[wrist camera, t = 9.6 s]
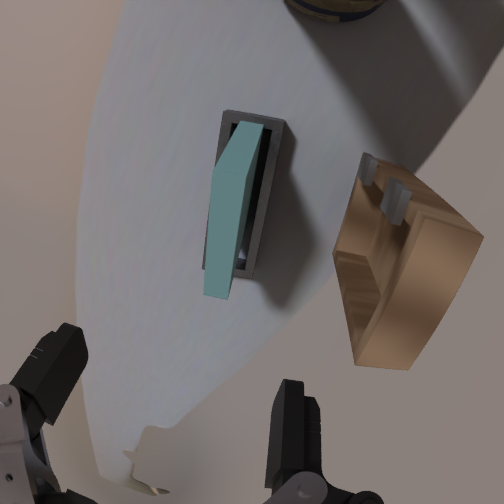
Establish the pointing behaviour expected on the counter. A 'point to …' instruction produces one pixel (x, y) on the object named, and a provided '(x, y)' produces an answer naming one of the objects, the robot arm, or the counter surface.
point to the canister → (335, 9)
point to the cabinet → (398, 263)
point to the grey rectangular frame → (276, 125)
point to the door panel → (230, 207)
